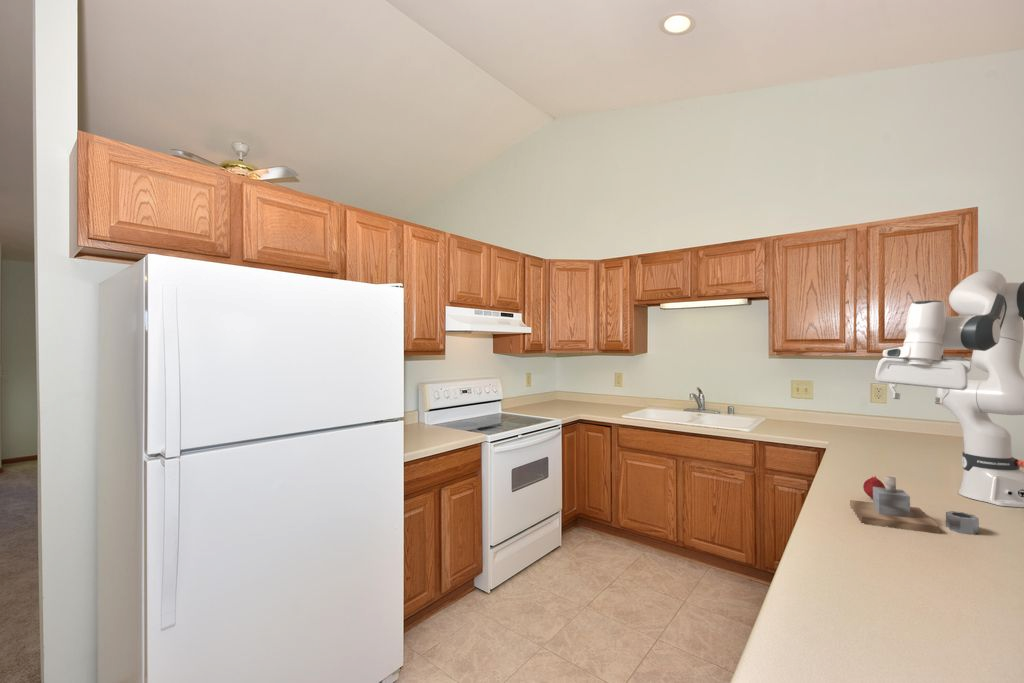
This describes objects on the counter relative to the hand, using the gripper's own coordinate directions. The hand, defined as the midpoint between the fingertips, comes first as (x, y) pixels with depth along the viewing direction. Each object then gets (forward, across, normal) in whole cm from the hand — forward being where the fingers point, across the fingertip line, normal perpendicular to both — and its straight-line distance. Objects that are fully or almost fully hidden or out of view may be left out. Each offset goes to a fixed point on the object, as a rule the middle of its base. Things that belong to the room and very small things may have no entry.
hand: (916, 401), depth 135 cm
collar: (+33, -11, -5) cm, 36 cm away
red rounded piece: (+33, +10, -19) cm, 39 cm away
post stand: (+35, +3, -2) cm, 35 cm away
